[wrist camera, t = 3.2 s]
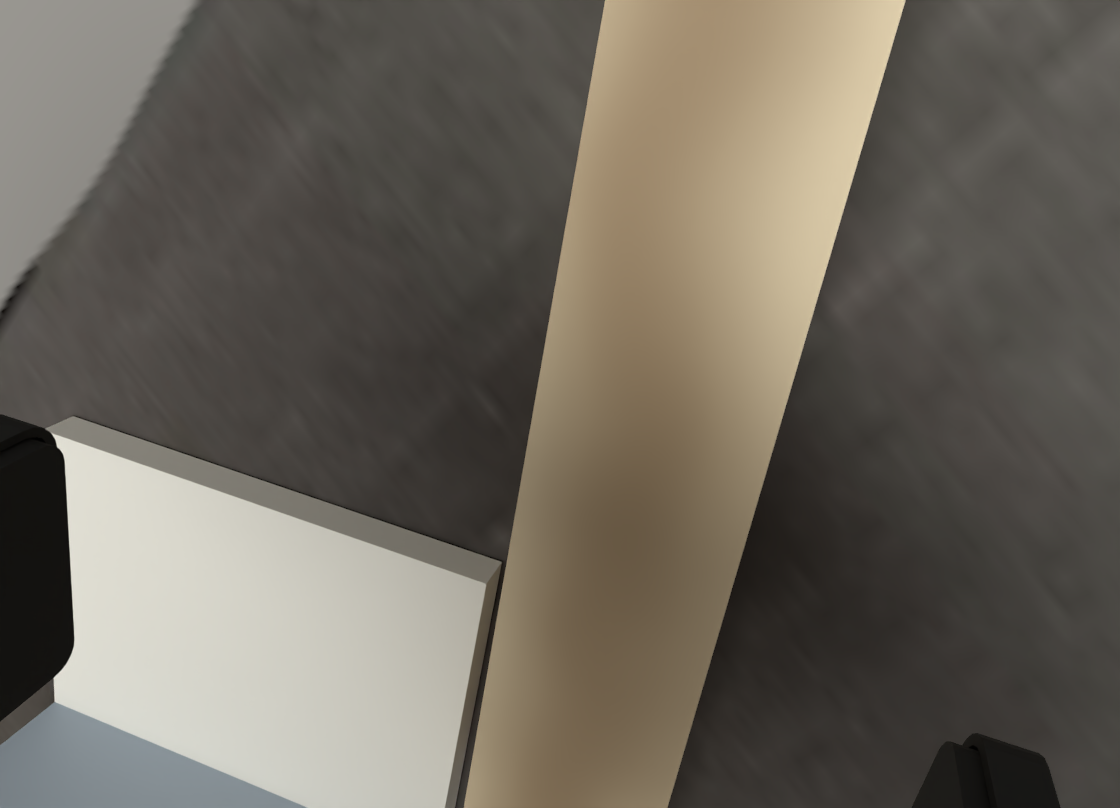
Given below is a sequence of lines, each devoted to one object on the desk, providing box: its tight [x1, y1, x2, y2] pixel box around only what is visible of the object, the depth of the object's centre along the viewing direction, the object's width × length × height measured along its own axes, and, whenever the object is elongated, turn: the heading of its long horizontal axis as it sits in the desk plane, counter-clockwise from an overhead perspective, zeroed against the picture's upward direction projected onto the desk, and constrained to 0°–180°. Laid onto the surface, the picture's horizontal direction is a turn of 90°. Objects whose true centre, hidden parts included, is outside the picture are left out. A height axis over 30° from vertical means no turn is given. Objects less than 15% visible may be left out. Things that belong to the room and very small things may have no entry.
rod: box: [464, 0, 905, 808], centre depth 17 cm, size 4×22×4 cm, turn 170°
